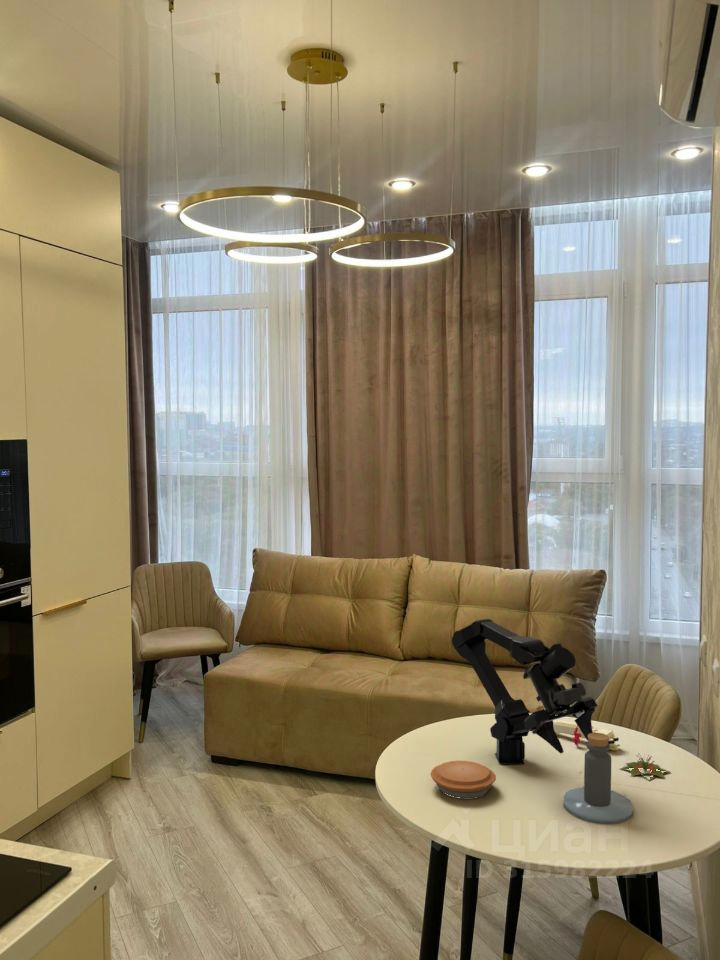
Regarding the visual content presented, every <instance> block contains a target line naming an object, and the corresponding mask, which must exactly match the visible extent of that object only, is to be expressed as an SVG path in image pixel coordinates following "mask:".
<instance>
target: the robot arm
mask: <svg viewBox="0 0 720 960" xmlns="http://www.w3.org/2000/svg"><path fill="white" fill-rule="evenodd" d="M486 641H491V642H492V643H494V644H496V645H497V646H499V647H501V648H502V649H504V650H506V651H507V652H509V654H510V657H511V658H512V659H513V660H514V661H516V662H517V663H518V664H519V665H522V666H526V665H530V664H533V665H532V666H529V667H524V673H523V675H522V678H523V679H524V680H527V679H530V681H531V683H532V686H533V687H534V689H535V691H536V693H537V696H536V697H535V698H536V700H537V702H541V703H542V704H541V705H543V707H544V710H540V711H536V712H535V711H534V712H531V711H530V710H529V709H528V708H527V706H526V704H525V702H524V700H523V699H521V698H519V699H515V698H513V697H512V696H511V694H510V693H509V691H508V689H507V687H506V686H505V684H504V682H503V681H502V679H501V677H500V675H499V674H498V672H497V670H496V669H495V667H494V666H493V664H492V662H491V660H490V658H489V657H488V655H487V653H486V648H487V643H486ZM451 644H452V647H453V648H454V650H456V652H457V653H458V655H459V656H460V657H461V658H462V659H464V660H466V661H467V662H469V663H470V665H471V667H472V668H473V670H474V672H475V674H476V676H477V677H478V679H479V681H480V682H481V684H482V686H483V688H484V689H485V691H486V694H487V695H488V697H489V698H490V700H491V702H492V703H493V706H494V708H495V709H494V719H495V721H496V722H495V723H494V724H493V725H492V726H491V727H490V728H489V731H490V735H491V737H492V738H494V739H496V752H495V753H494V756H495V758H496V760H497V762H498V764H499V765H524V764H525V760H524V759H525V757H526V755H525V754H526V753H525V752H526V751H525V749H526V747H525V746H526V744H525V741H524V740H523V739H524V738H523V737H527V736H529V733H530V732H532V731H533V730H534V731H533V732H532V734H533V735H537V736H539V737H540V738H542V740H544V741H545V742H547V743H548V744H549V745H550V746H551V747H552V748H554V749H555V750H556V751H557V752H558V753H559V754H563V753H564V751H565V750H564V749H563V746H562V744H561V741H560V739H559V737H558V735H557V733H555V731H554V727H553V720H554V721H556V720H559V719H561V718H565V717H569V716H572V717H574V718H575V719H574V720H573V721H574V723H576V724H577V725H578V727H579V728H580V730H581V731H582V733H583V735H584V736H585V738H586V739H585V738H584V739H585V740H587V741H588V734H590V733H593V732H592V727H593V725H592V717H593V714H594V713H595V712H596V708H598V707H599V705H598V704H597V701H596V700H595V699H594V698H593V697H591V696H589V697H586V698H583V697H585V696H586V695H587V691H586V688H585V687H584V684H583V683H582V682H581V681H580V682H576V683H572V684H571V687H570V688H566V687H565V685H564V684H563V683H561V684H560V683H559V682H558V679H560V678H562V677H563V676H564V675H565V674H566V673H568V672H570V670H572V669H573V668H575V665H576V658H575V655H574V654H573V653H572V651H570V650H569V649H567V648H565V647H563V646H562V643H553V645H551V646H550V647H548V646H547V645H545V644H544V642H543V641H542V640H540V639H539V638H535V637H531V636H522V635H520V634H519V635H518V634H517V633H515V632H513V631H511V630H509V629H507V628H505V627H503V626H502V625H499V624H497V623H496V622H494V620H492V619H490V618H482V619H481V618H480V619H476V620H475V621H473V622H472V623H471V624H469V625H467V626H465V627H463V628H461V629H459V630H455V631H454V633H453V635H452V637H451ZM530 712H531V714H530Z"/></svg>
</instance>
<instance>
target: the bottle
mask: <svg viewBox="0 0 720 960" xmlns="http://www.w3.org/2000/svg"><path fill="white" fill-rule="evenodd" d="M608 741H609V736H607V735H605V734H602V733H590V734H588V740H587V741H586V748H587V749H588V750H587V751H585V753H584V765H583V766H584V767H583V768H584V769H583V770H584V775H583V787H584V800H585V802H586V803H588V804H590V805H593V806H608V805H609V804H610V803H611V791H612V756H611V754H610V753H609V751H611V750H610V745H609V744H608Z"/></svg>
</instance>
